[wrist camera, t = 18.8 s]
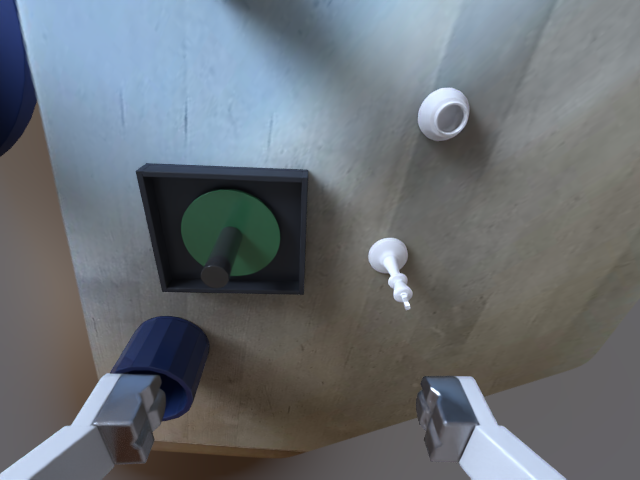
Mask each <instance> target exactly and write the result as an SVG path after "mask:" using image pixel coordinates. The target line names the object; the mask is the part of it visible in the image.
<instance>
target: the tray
mask: <svg viewBox="0 0 640 480" xmlns="http://www.w3.org/2000/svg"><path fill="white" fill-rule="evenodd" d="M136 174H137V179H138V183H139V188H140V193H141V197H142V202H143V206H144V211H145V215H146V220H147V224H148V229H149V233H150V238H151V242H152V247H153V252H154V256H155V261H156V265H157V270H158V274H159V279H160V283H161V288H162V292H196V293H246V294H295V295H304V275H305V247H306V220H307V192H308V170H298V169H273V168H248V167H223V166H198V165H173V164H149V163H146V164H145V165H143V166H142V167H141V168H139V169H138V170H137V171H136ZM217 189H235V190H240V191H243V192H246V193H249V194H251V195H253V196H255V197H257V198H258V199H260V200H261V201H262V202H264V203H265V204H266V205H267V206H268V207H269V208H270V209H271V211H272V212H273V214H274V215H275V217H276V219H277V221H278V224H279V228H280V235H281V237H280V245H279V249H278V252H277V254H276V256H275V257H274V259H273V260H272V261H271V262H270V263H269V264H268V265H267V266H266V267H264V268H263V269H261V270H259V271H258V272H255V273H253V274H249V275H244V276H230V278H229V281H228V283H227V284H226V285H225V286H224V287H221V288H211V287H209V286H207V285H206V284H204V283H203V281H202V279H201V272H202V270H203V268H204V266H202V265H201V264H200V263H198V262H197V261H196V260H195V259H194V258H193V257H192V256H191V255H190V253H189V252H188V250H187V249H186V247H185V245H184V242H183V239H182V235H181V222H182V218H183V215H184V213H185V211H186V209H187V208H188V206H189V205H190V204H191V203H192V202H193V201H194V200H195V199H196V198H197V197H199V196H200V195H202V194H204V193H206V192H209V191H212V190H217Z"/></svg>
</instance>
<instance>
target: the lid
mask: <svg viewBox="0 0 640 480" xmlns="http://www.w3.org/2000/svg"><path fill="white" fill-rule="evenodd" d="M181 235H182V239H183V242H184V245H185V247H186V249H187V250H188V252H189V253H190V255H191V256H192V257H193V258H194V259H195V260H196V261H197V262H198V263H200V264H201V265H202V266H204V268H203V270H202V272H201V279H202V281H203V283H204V284H206V285H207V286H209V287H211V288H221V287H224V286H225V285H226V284H227V283H228V281H229V278H230V276H244V275H249V274H253V273H255V272H258V271H259V270H261V269H263V268H264V267H266V266H267V265H268V264H269V263H270V262H271V261H272V260H273V259H274V257H275V256H276V254H277V252H278V249H279V245H280V237H281V235H280V228H279V224H278V221H277V219H276V217H275V215H274V214H273V212H272V211H271V209H270V208H269V207H268V206H267V205H266V204H265V203H264V202H262V201H261V200H260V199H258V198H257V197H255V196H253V195H251V194H249V193H246V192H243V191H240V190H235V189H217V190H212V191H209V192H206V193H204V194H202V195H200V196H199V197H197V198H196V199H195V200H194V201H193V202H192V203H191V204H190V205H189V206H188V208H187V209H186V211H185V213H184V215H183V218H182V222H181Z"/></svg>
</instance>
